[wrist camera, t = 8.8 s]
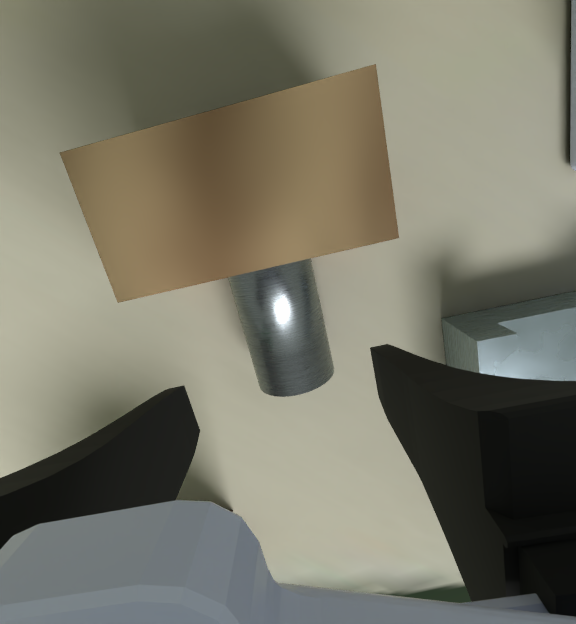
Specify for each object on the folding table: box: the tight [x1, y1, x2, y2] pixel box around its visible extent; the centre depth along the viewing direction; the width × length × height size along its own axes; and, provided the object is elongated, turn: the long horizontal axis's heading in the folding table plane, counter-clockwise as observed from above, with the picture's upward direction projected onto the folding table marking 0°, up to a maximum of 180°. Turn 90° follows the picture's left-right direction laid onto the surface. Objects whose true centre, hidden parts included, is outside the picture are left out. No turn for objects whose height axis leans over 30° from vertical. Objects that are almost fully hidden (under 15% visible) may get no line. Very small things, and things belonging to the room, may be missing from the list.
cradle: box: [442, 291, 576, 381], centre depth 17 cm, size 9×14×4 cm, turn 13°
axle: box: [228, 258, 334, 397], centre depth 15 cm, size 4×12×4 cm, turn 13°
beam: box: [60, 64, 399, 303], centre depth 13 cm, size 10×5×6 cm, turn 103°
